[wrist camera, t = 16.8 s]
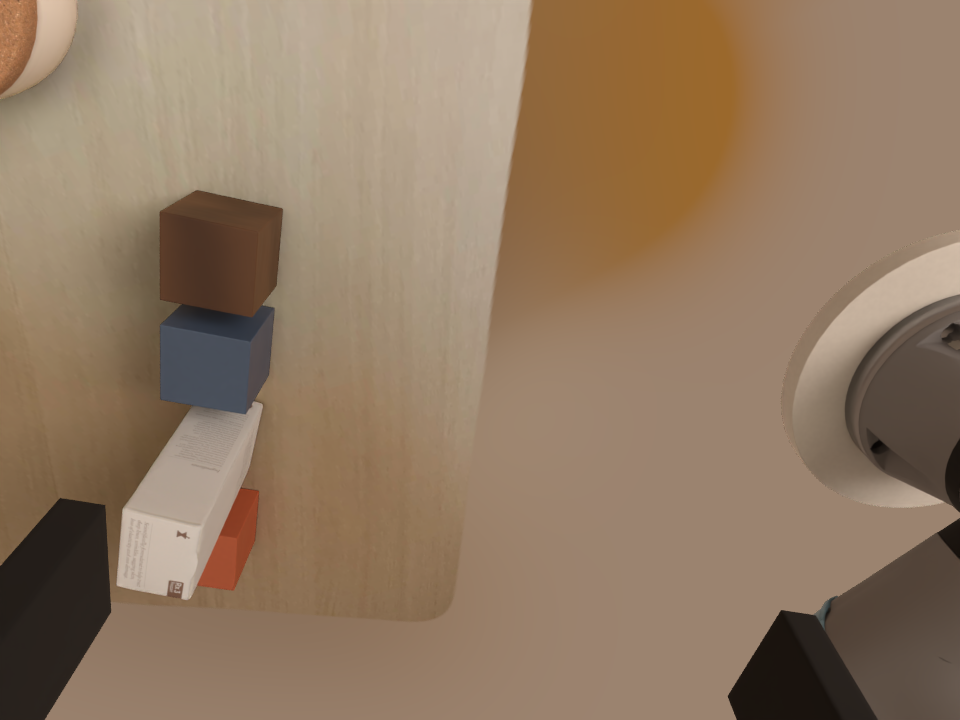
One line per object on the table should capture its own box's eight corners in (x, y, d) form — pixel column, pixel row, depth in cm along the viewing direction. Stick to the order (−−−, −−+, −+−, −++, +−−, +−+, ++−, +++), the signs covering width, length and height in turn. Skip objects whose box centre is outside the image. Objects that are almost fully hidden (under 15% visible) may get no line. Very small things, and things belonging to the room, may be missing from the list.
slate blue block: (274, 307, 40) (250, 341, 36) (269, 375, 42) (245, 415, 38) (193, 291, 40) (159, 324, 35) (192, 361, 42) (160, 399, 37)
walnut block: (283, 208, 37) (258, 231, 33) (276, 286, 40) (252, 318, 35) (196, 189, 37) (159, 211, 32) (194, 269, 39) (159, 300, 35)
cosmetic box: (202, 385, 43) (113, 503, 32) (269, 402, 43) (203, 524, 33) (191, 456, 45) (105, 587, 35) (254, 471, 46) (189, 604, 35)
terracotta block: (259, 490, 47) (237, 538, 43) (254, 540, 49) (233, 591, 45) (189, 479, 46) (160, 526, 42) (188, 530, 49) (160, 580, 44)
